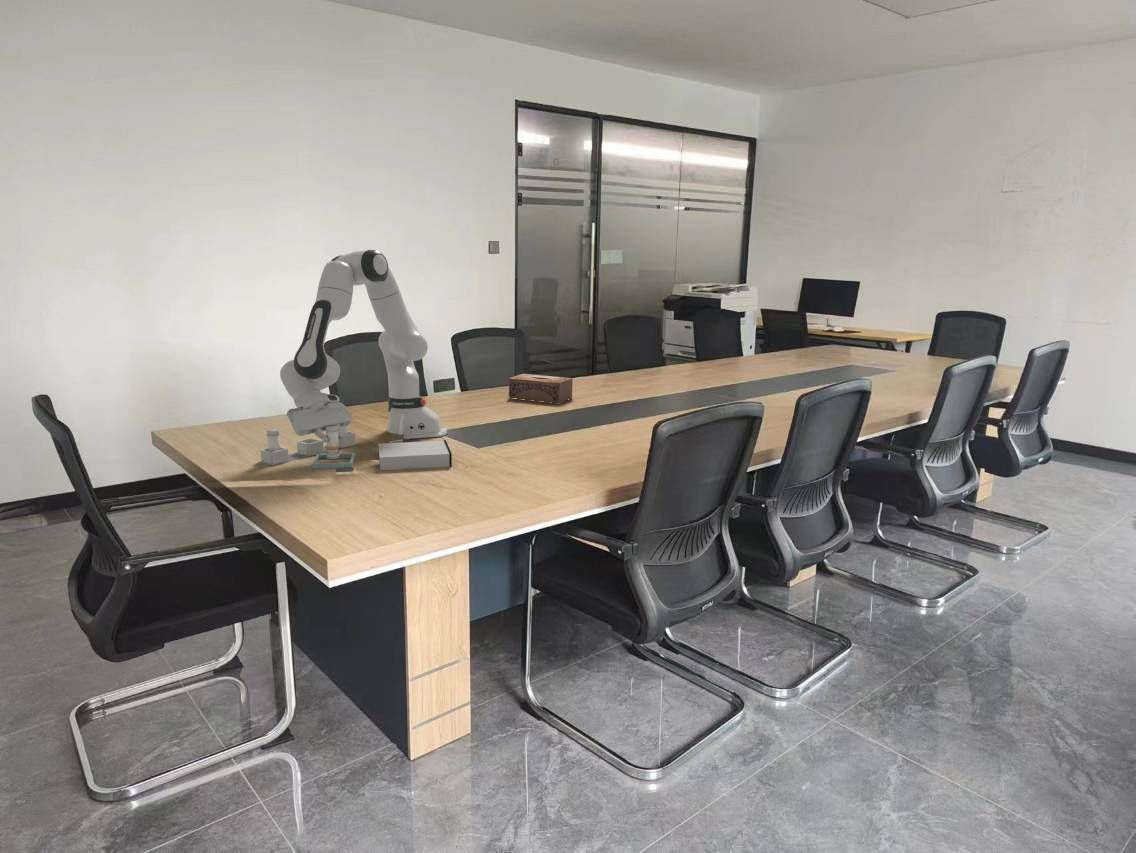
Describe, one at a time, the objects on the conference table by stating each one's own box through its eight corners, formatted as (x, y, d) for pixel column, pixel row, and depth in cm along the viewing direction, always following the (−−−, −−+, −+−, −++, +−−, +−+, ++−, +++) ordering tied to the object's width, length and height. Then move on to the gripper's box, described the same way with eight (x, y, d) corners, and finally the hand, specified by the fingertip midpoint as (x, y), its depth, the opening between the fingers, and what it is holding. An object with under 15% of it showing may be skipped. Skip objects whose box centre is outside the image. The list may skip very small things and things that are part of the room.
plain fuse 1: (282, 459, 249) (280, 429, 247) (280, 462, 246) (278, 431, 244) (269, 459, 249) (267, 429, 247) (267, 463, 245) (265, 432, 243)
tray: (355, 461, 254) (355, 453, 254) (352, 471, 243) (351, 463, 242) (317, 462, 252) (316, 454, 252) (312, 472, 241) (311, 464, 240)
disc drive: (452, 467, 251) (451, 452, 250) (380, 471, 245) (379, 456, 244) (446, 453, 267) (446, 439, 266) (378, 457, 262) (378, 442, 260)
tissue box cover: (572, 399, 364) (572, 378, 362) (559, 404, 351) (559, 383, 349) (522, 394, 374) (522, 373, 372) (508, 399, 361) (508, 378, 359)
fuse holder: (257, 466, 246) (256, 449, 245) (346, 445, 274) (345, 429, 273) (270, 470, 242) (269, 453, 241) (359, 448, 271) (358, 432, 269)
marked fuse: (340, 455, 249) (338, 425, 247) (338, 458, 245) (337, 428, 243) (327, 456, 248) (326, 425, 246) (326, 459, 245) (324, 428, 242)
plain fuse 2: (349, 443, 271) (348, 415, 269) (348, 445, 267) (347, 417, 265) (338, 443, 270) (336, 415, 268) (336, 446, 267) (335, 417, 264)
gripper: (288, 404, 238) (310, 440, 235) (342, 394, 255) (363, 428, 251) (280, 416, 242) (301, 452, 238) (333, 406, 258) (354, 439, 255)
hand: (333, 439), depth 245 cm, fingers closed on marked fuse, 4 cm apart
